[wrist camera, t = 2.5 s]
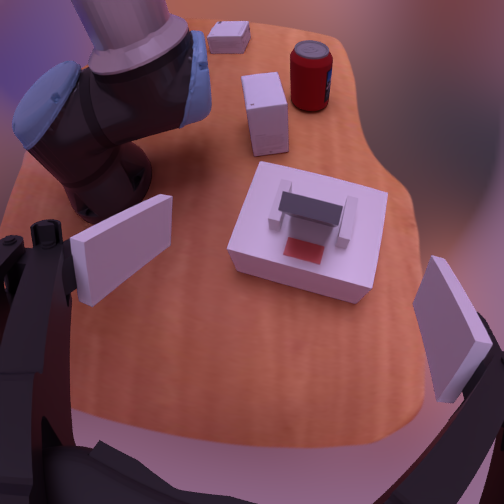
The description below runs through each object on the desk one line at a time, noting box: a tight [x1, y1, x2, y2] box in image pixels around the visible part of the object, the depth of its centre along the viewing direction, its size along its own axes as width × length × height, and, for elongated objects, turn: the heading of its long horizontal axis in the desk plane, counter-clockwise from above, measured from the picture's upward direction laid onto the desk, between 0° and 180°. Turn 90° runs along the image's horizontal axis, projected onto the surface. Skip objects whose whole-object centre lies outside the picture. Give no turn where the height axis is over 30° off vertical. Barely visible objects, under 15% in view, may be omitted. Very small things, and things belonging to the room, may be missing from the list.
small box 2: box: [241, 72, 289, 156], centre depth 45 cm, size 8×6×10 cm
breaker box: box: [227, 161, 388, 304], centre depth 37 cm, size 12×16×10 cm
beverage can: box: [290, 40, 333, 111], centre depth 46 cm, size 7×7×12 cm
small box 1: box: [207, 21, 251, 54], centre depth 59 cm, size 8×8×5 cm
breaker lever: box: [278, 191, 343, 227], centre depth 30 cm, size 2×5×10 cm, turn 72°
